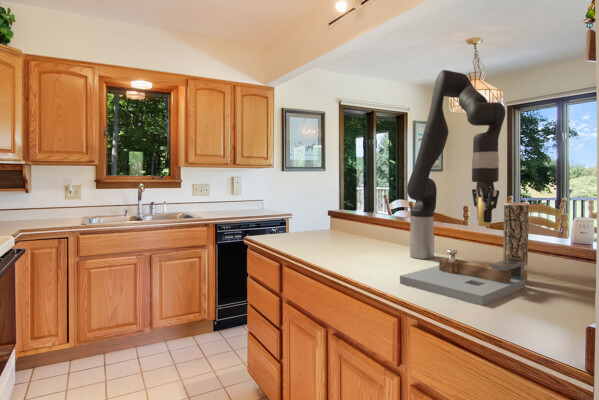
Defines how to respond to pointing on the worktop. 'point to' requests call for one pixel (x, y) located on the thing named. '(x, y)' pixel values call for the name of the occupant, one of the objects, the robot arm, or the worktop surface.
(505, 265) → the keeper
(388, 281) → the worktop surface
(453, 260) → the pintle
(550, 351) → the worktop surface
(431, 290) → the board
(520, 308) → the worktop surface
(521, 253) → the brown bark-textured cylinder
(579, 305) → the worktop surface
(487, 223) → the pin
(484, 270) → the link
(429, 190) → the robot arm
